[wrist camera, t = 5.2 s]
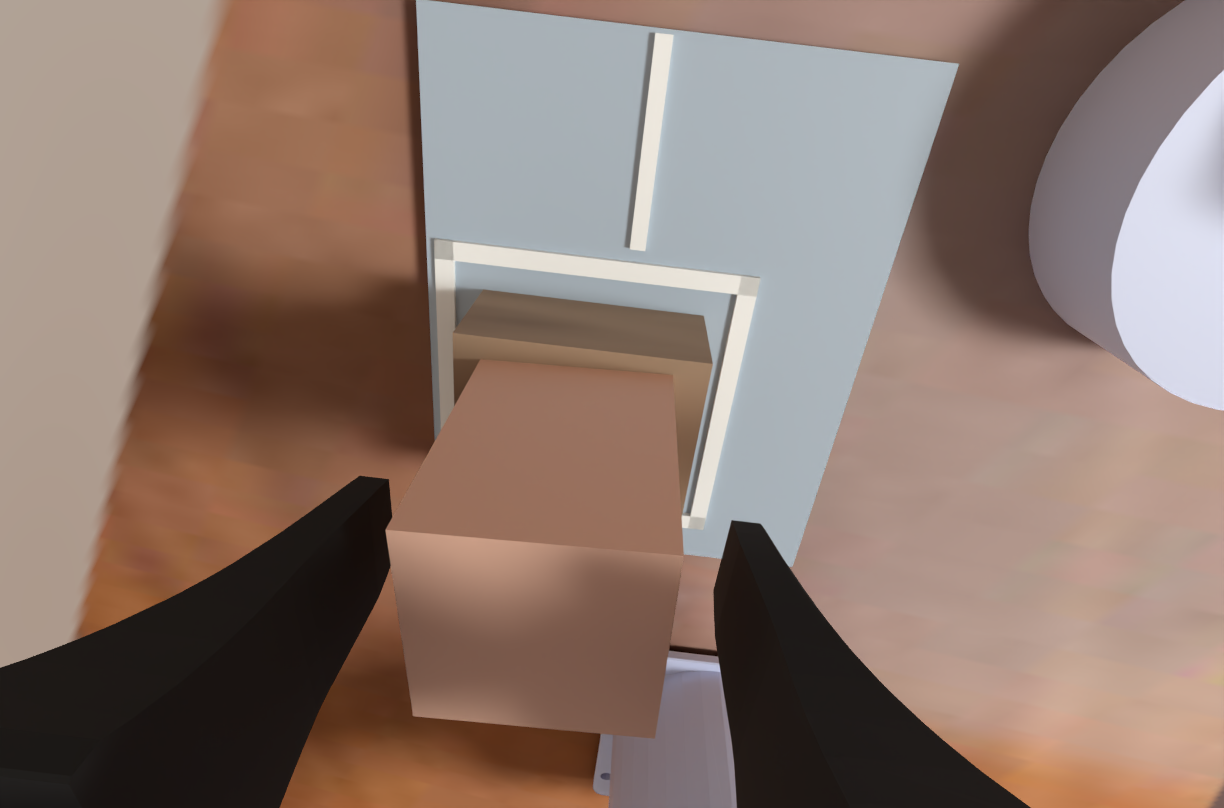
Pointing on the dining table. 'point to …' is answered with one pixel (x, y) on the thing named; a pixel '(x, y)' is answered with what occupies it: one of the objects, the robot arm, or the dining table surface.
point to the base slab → (592, 348)
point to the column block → (543, 551)
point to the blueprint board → (680, 215)
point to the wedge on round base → (1144, 206)
